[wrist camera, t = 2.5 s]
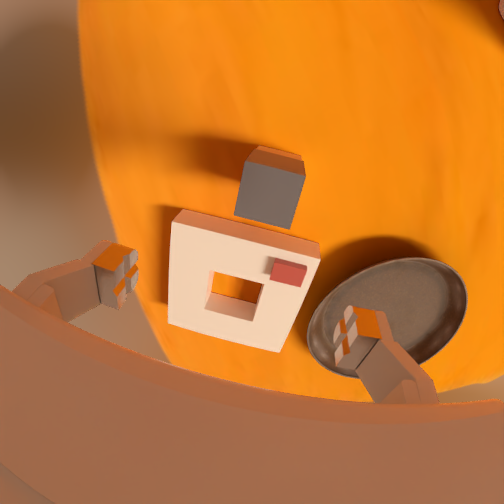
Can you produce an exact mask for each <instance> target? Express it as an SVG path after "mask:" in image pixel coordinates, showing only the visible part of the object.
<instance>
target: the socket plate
mask: <svg viewBox="0 0 504 504" xmlns="http://www.w3.org/2000/svg"><path fill="white" fill-rule="evenodd" d="M320 260H321V257H320V249H319V243H316V242H312V241H308V240H305V239H301V238H297V237H293V236H290V235H286V234H282V233H278V232H274V231H271V230H267V229H263V228H259V227H255V226H251V225H247V224H243V223H239V222H235V221H231V220H227V219H223V218H219V217H215V216H211V215H207V214H203V213H199V212H194V211H190V210H186V209H182V211H181V212H180V213H179V214H178V215H177V216H176V217H175V218H174V219H173V221H172V225H171V240H170V259H169V285H168V323H169V324H172V325H176V326H179V327H182V328H185V329H189V330H192V331H196V332H199V333H202V334H206V335H210V336H213V337H217V338H221V339H224V340H228V341H232V342H236V343H240V344H244V345H248V346H252V347H256V348H261V349H265V350H269V351H274V352H280V350H281V348H282V346H283V344H284V342H285V340H286V338H287V336H288V333H289V331H290V329H291V327H292V325H293V323H294V320H295V318H296V316H297V314H298V312H299V309H300V307H301V305H302V303H303V300H304V298H305V296H306V294H307V291H308V289H309V287H310V284H311V282H312V280H313V277H314V275H315V272H316V270H317V268H318V265H319V263H320ZM214 271H216V272H220V273H223V274H227V275H231V276H235V277H239V278H242V279H246V280H250V281H254V282H258V283H262V286H261V290H260V293H259V296H258V300H257V303H256V304H255V303H251V302H247V301H243V300H239V299H235V298H231V297H228V296H224V295H220V294H216V293H213V292H211V288H212V282H213V276H214Z"/></svg>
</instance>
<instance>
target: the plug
mask: <svg viewBox="0 0 504 504" xmlns="http://www.w3.org/2000/svg"><path fill="white" fill-rule="evenodd" d="M305 177H306V174H305V168H304V161H302V159H301V156H300V155H296V154H292V153H289V152H285V151H281V150H277V149H273V148H269V147H265V146H261V145H259V146H258V147H257V148H256V149H254V150H253V151H252V152H251V154H250V155H249V156H248V158H247V159H246V160H245V164H244V168H243V173H242V178H241V182H240V187H239V192H238V197H237V202H236V207H235V212H234V215H235V216H239V217H243V218H247V219H251V220H255V221H259V222H263V223H266V224H270V225H274V226H278V227H282V228H285V229H289V230H290V226H291V223H292V220H293V217H294V214H295V210H296V207H297V204H298V200H299V197H300V194H301V191H302V187H303V184H304V181H305Z"/></svg>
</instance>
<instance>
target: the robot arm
mask: <svg viewBox="0 0 504 504" xmlns="http://www.w3.org/2000/svg"><path fill="white" fill-rule="evenodd" d="M499 11H500V14H501V16H502V17H503V19H504V0H500V3H499ZM137 260H138V252H137V251H136V250H135V249H132V248H129V247H126V246H123V245H120V244H116V243H113V242H110V241H107V240H102V241H101V242H99V243H98V244H97V245H96V246H95V247H94V248H93V249H92V250H91V251H90V252H89V253H87V254H86V255H85V256H84V257H83V258H82V259H81V260H78V259H76V260H73V261H70V262H67V263H64V264H60V265H57V266H54V267H51V268H48V269H45V270H42V271H39V272H36V273H33V274H30V275H28V276H27V277H26V278H25V279H24V280H23V281H22V282H21V283H20V284H19V285H18V286H17V287H16V288H15V289H14V290H13V291H12V292H11V291H9V290H8V289H6V288H5V287H3V286H2V285H0V504H504V403H503V402H502V401H501V400H499V399H489V400H482V401H472V402H461V403H446V404H445V403H444V404H439V400H438V397H437V393H436V389H435V386H434V383H433V380H432V379H431V378H430V377H429V376H428V375H427V373H426V372H425V371H424V370H423V369H422V368H421V367H420V366H419V365H418V364H417V363H416V362H415V360H414V359H413V358H412V357H411V356H410V355H409V354H408V353H407V352H406V351H405V350H404V349H403V348H402V347H401V346H400V344H399V343H398V342H394V339H393V336H392V333H391V330H390V326H389V323H388V320H387V317H386V314H385V313H384V312H383V311H377V310H370V309H365V308H360V307H356V306H351V305H349V306H348V307H347V308H346V310H345V311H344V317H345V318H343V319H342V320H340V321H339V322H338V324H337V326H336V328H335V331H334V338H333V340H334V345H335V346H336V347H337V350H336V352H335V362H336V367H341V368H347V369H353V370H355V371H356V373H357V375H358V376H359V378H360V379H361V381H362V383H363V384H364V386H365V387H366V389H367V391H368V392H369V394H370V395H371V397H372V399H373V400H374V402H375V403H365V402H352V401H342V400H333V399H324V398H317V397H309V396H303V395H296V394H290V393H284V392H279V391H273V390H268V389H263V388H258V387H254V386H249V385H245V384H240V383H236V382H232V381H228V380H224V379H220V378H216V377H212V376H209V375H205V374H201V373H198V372H194V371H191V370H188V369H184V368H181V367H178V366H175V365H172V364H169V363H165V362H163V361H159V360H157V359H154V358H151V357H148V356H145V355H142V354H140V353H137V352H134V351H132V350H129V349H127V348H124V347H122V346H119V345H117V344H114V343H112V342H109V341H107V340H105V339H102V338H100V337H98V336H95V335H93V334H91V333H88V332H87V331H84V330H82V329H80V328H78V327H76V326H74V325H72V324H70V323H68V322H69V321H71V320H73V319H75V318H76V317H78V316H80V315H82V314H84V313H85V312H87V311H89V310H91V309H93V308H95V307H97V306H98V305H100V303H101V304H104V305H106V306H109V307H112V308H115V309H118V310H119V309H120V307H121V306H122V304H123V303H124V302H125V300H126V299H127V298H126V294H127V293H129V292H132V291H133V289H134V288H135V286H136V283H137V280H138V268H137V266H136V264H135V263H136V261H137Z"/></svg>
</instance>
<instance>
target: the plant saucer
mask: <svg viewBox="0 0 504 504" xmlns="http://www.w3.org/2000/svg"><path fill="white" fill-rule="evenodd" d="M467 303H468V295H467V289H466V285H465V283H464V281H463V279H462V278H461V276H460V275H459V274H458V272H456V271H455V270H454V269H453V268H452V267H450V266H449V265H447V264H445V263H443V262H440V261H437V260H434V259H429V258H423V257H400V258H393V259H389V260H385V261H381V262H378V263H375V264H373V265H370V266H368V267H366V268H363V269H361V270H360V271H358V272H356V273H354V274H353V275H351V276H349V277H348V278H346V279H345V280H344V281H342V282H341V283H340V284H338V285H337V286H336V287H335V288H334V289H333V290H332V291H330V293H329V294H328V295H327V296H326V297H325V298H324V299H323V300H322V302H321V303H320V304H319V306H318V307H317V309H316V310H315V312H314V314H313V316H312V318H311V320H310V322H309V326H308V330H307V343H308V347H309V350H310V352H311V354H312V356H313V357H314V359H315V360H316V361H317V362H318V363H319V364H320V365H321V366H323V367H324V368H326V369H327V370H329V371H331V372H333V373H335V374H338V375H341V376H345V377H351V378H357V379H360V378H359V376H358V375H357V373H356V371H355V370H353V369H347V368H341V367H336V362H335V352H336V350H337V347H336V346H335V345H334V340H333V338H334V331H335V328H336V326H337V324H338V322H339V321H340V320H342V319H343V318H345V317H344V311H345V310H346V308H347V307H348V306H349V305H351V306H356V307H360V308H365V309H370V310H377V311H383V312H384V313H385V314H386V317H387V320H388V323H389V326H390V330H391V333H392V336H393V339H394V342H398V343H399V344H400V346H401V347H402V348H403V349H404V350H405V351H406V352H407V353H408V354H409V355H410V356H411V357H412V358H413V359H414V360H415V362H416V363H417V364H418V365H421V364H422V363H424V362H426V361H427V360H429V359H430V358H432V357H433V356H434V355H436V354H437V353H438V352H439V351H441V350H442V349H443V348H444V347H445V346H446V345H447V344H448V343H449V342H450V340H451V339H452V338H453V337H454V335H455V334H456V332H457V331H458V329H459V328H460V326H461V324H462V322H463V319H464V317H465V314H466V310H467Z"/></svg>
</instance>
